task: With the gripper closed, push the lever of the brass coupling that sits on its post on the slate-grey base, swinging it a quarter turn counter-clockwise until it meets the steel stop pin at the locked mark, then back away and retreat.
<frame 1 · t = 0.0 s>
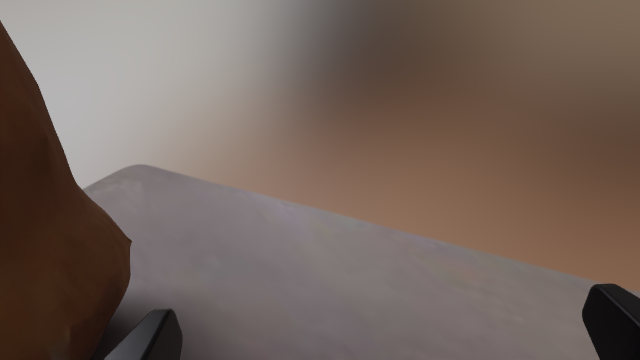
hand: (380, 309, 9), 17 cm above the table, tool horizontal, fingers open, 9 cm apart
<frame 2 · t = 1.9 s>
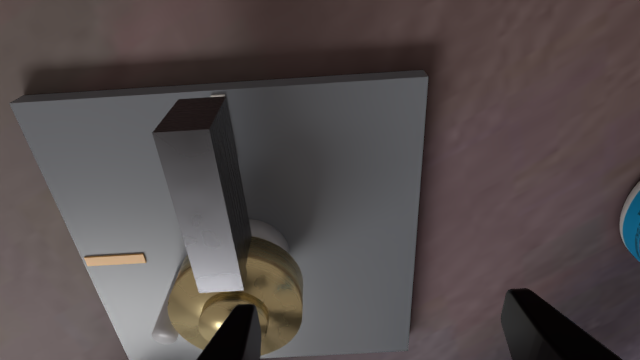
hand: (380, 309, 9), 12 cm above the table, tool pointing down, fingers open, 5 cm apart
socket base: (250, 239, 23), on the table
coupling: (224, 252, 18), point 5 cm above the table, hinge at 0.0°
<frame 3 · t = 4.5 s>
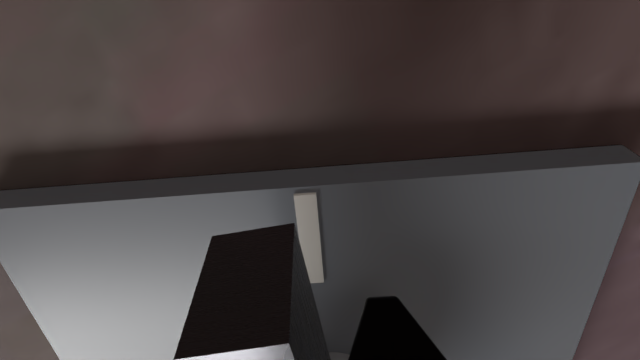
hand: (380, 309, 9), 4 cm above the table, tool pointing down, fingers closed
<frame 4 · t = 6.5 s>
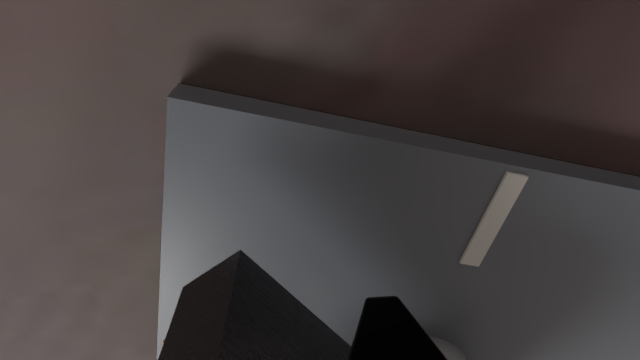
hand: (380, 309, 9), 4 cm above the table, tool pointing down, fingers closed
socket base: (402, 351, 16), on the table
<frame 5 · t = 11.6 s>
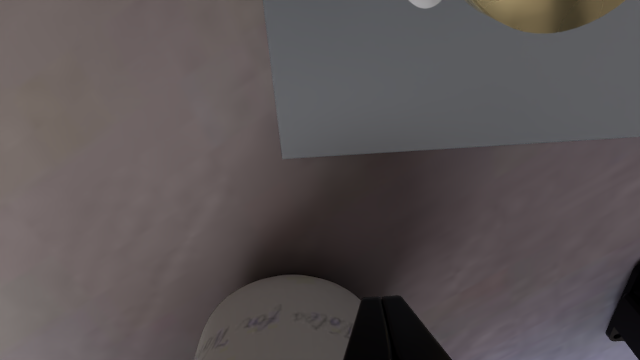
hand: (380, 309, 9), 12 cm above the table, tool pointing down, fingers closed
teacup: (272, 315, 27), on the table
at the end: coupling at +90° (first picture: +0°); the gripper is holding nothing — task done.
